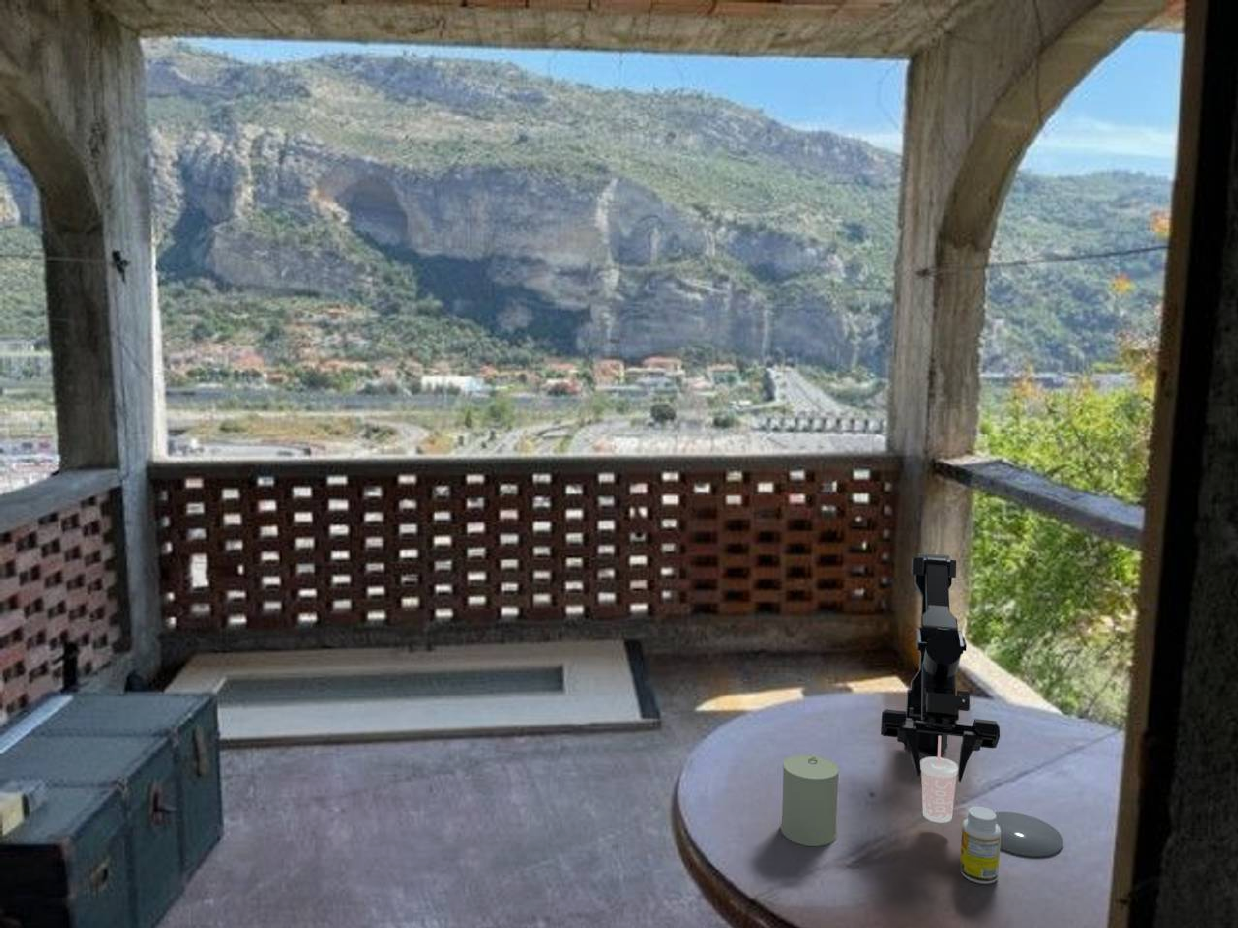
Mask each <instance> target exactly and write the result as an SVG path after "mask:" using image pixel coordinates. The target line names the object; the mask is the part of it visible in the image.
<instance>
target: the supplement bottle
mask: <svg viewBox="0 0 1238 928" xmlns="http://www.w3.org/2000/svg"><path fill="white" fill-rule="evenodd" d="M961 826H962V827H961V828H962V829H961V843H960V844H961V845H960V863H959V866H960V867H959V869H960V872H961V874H962V875H963V876H964V877H965V878H966V879H967V880H969V881H971V882H972V883H973V882H974V883H976V884H982V885H983V884H984V885H988V884H989V885H990V884H993V883H995V882H996V881H997V880H998V878H999V871H1000V858H1001V849H1000V845H1001V829H1000V827H999V826H998V825H997V824H996V814H995V811H993V810H992V809H989V808H987V807H983V806H972V807H970V808H969V810H968V815H967V818H965V819H963V822H962V825H961Z"/></svg>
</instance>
